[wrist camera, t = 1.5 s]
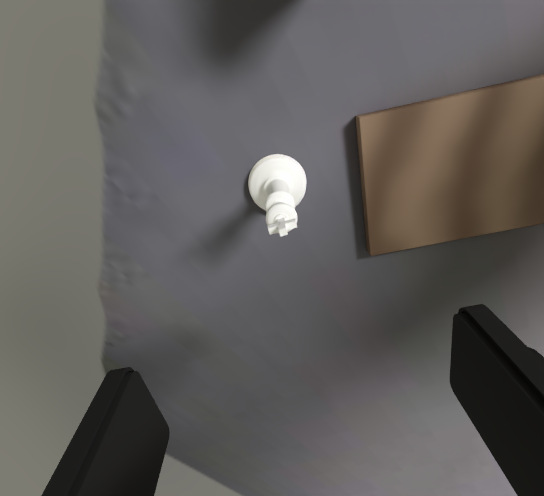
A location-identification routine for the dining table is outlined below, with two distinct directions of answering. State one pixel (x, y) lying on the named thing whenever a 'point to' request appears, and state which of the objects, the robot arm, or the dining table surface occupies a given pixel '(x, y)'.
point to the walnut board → (453, 166)
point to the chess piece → (278, 190)
